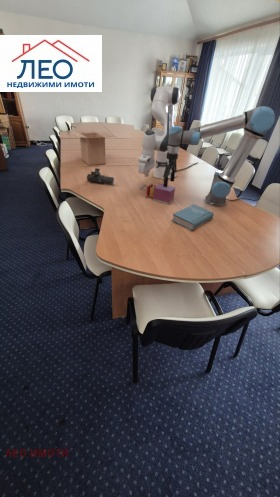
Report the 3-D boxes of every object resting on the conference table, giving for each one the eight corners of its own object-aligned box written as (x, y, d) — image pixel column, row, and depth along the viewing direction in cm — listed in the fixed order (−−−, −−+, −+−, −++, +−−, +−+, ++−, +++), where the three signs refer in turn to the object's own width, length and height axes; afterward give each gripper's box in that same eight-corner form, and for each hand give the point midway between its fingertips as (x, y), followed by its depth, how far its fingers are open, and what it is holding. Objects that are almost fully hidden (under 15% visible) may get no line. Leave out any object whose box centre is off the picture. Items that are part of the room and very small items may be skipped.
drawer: (139, 195, 169) (139, 185, 165) (144, 191, 176) (145, 181, 171) (159, 200, 163) (161, 190, 159) (164, 196, 170) (165, 186, 165)
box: (116, 165, 229) (116, 136, 213) (83, 168, 214) (80, 137, 198) (102, 154, 259) (101, 128, 243) (71, 156, 244) (68, 129, 228)
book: (192, 210, 154) (193, 204, 151) (212, 219, 146) (214, 212, 143) (171, 220, 141) (173, 213, 138) (192, 231, 132) (194, 224, 129)
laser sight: (111, 186, 182) (110, 174, 176) (85, 182, 185) (84, 170, 179) (114, 182, 190) (114, 170, 184) (89, 179, 192) (88, 167, 186)
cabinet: (153, 200, 165) (154, 187, 159) (158, 195, 173) (159, 183, 167) (168, 204, 161) (170, 191, 155) (173, 199, 168) (175, 187, 163)
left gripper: (150, 153, 164) (148, 172, 172) (137, 159, 149) (136, 179, 157) (157, 154, 162) (155, 173, 170) (145, 160, 147) (144, 181, 155)
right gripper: (173, 148, 156) (170, 178, 169) (160, 155, 138) (157, 188, 151) (183, 150, 154) (179, 180, 166) (171, 157, 135) (167, 190, 148)
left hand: (146, 176), depth 163 cm, fingers closed
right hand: (168, 184), depth 158 cm, fingers open, 13 cm apart
